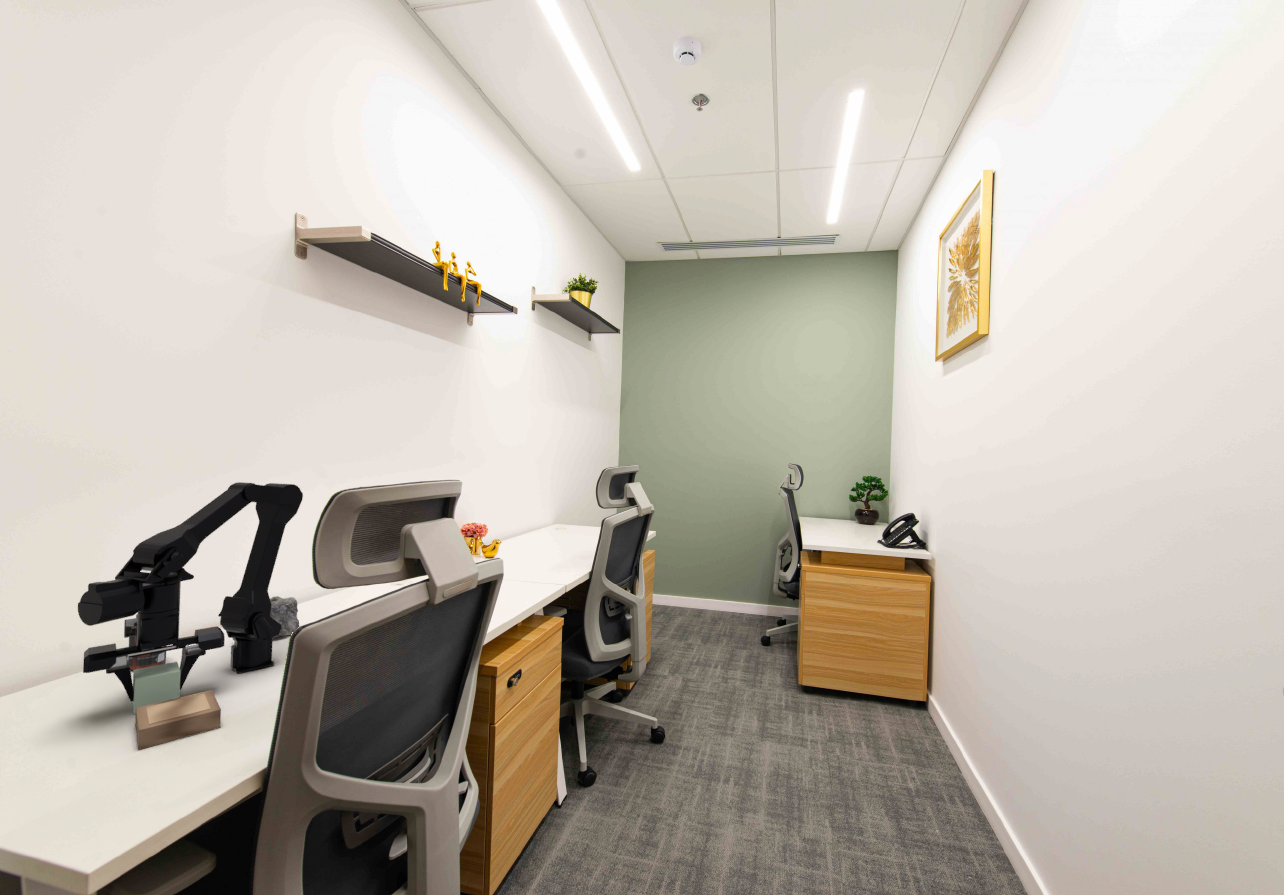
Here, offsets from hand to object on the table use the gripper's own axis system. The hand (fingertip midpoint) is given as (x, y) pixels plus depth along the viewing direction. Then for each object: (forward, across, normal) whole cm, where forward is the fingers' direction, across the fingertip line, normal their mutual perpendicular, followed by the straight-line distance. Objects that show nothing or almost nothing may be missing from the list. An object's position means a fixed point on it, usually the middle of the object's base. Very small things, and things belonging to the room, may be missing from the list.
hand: (156, 694), depth 97 cm
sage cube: (+2, 0, 0) cm, 2 cm away
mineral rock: (+2, -22, -27) cm, 35 cm away
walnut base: (+2, -2, +13) cm, 13 cm away
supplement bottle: (+2, 0, -23) cm, 23 cm away
